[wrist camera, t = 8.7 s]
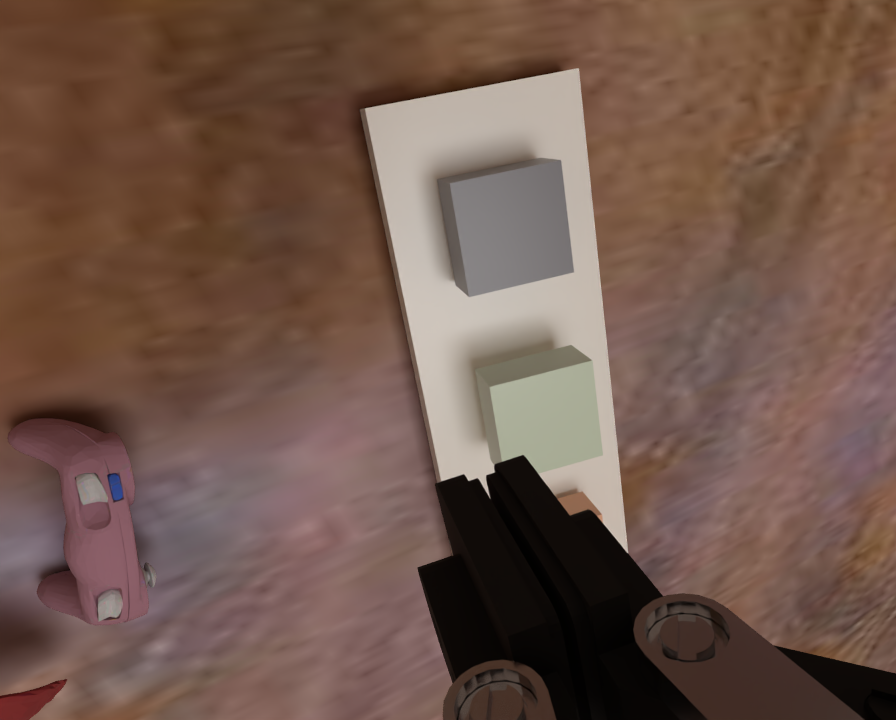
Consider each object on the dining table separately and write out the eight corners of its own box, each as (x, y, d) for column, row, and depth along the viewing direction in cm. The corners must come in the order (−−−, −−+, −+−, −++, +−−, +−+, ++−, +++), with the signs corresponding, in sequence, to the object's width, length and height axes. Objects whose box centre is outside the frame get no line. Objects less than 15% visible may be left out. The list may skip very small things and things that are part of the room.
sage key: (474, 369, 34) (489, 387, 32) (571, 344, 35) (592, 360, 33) (490, 459, 36) (505, 482, 34) (582, 434, 37) (602, 455, 34)
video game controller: (129, 564, 39) (176, 632, 33) (35, 597, 36) (70, 676, 31) (105, 394, 35) (152, 441, 30) (0, 415, 33) (32, 471, 28)
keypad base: (359, 109, 33) (364, 108, 31) (562, 71, 34) (578, 68, 32) (466, 624, 43) (474, 647, 41) (617, 577, 45) (632, 596, 43)
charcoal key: (436, 178, 32) (449, 183, 30) (540, 157, 33) (561, 159, 30) (455, 285, 34) (469, 297, 31) (554, 262, 34) (573, 272, 32)
